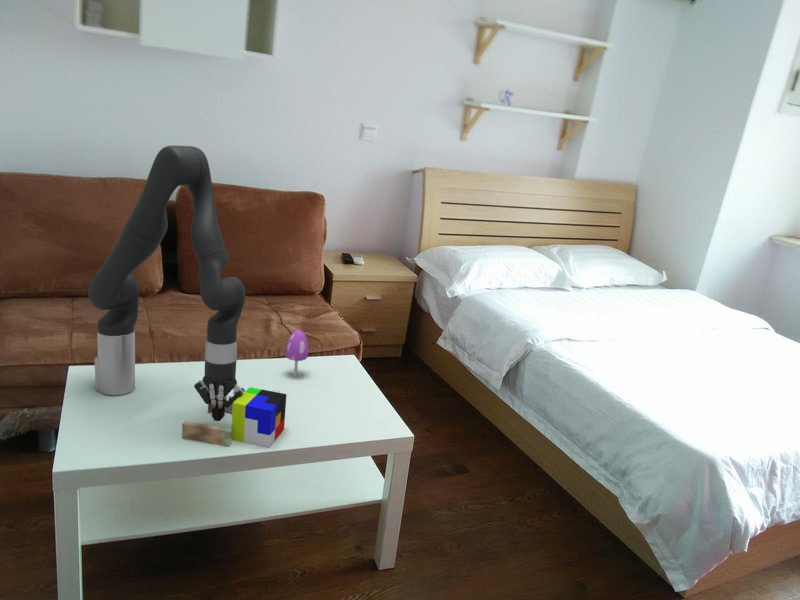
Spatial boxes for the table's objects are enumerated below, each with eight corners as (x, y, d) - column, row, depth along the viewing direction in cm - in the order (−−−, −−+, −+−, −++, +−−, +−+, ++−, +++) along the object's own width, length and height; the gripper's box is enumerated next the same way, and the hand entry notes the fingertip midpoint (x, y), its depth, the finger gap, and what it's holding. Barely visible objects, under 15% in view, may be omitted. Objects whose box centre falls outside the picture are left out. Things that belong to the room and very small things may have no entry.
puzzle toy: (269, 447, 153) (271, 410, 150) (231, 439, 154) (232, 403, 151) (284, 429, 162) (286, 394, 159) (248, 421, 164) (249, 387, 161)
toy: (285, 371, 197) (288, 326, 193) (306, 372, 198) (309, 328, 194) (283, 379, 191) (286, 334, 187) (305, 381, 192) (309, 335, 188)
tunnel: (182, 438, 152) (182, 423, 151) (219, 401, 173) (219, 387, 172) (229, 446, 151) (229, 431, 150) (260, 408, 172) (261, 394, 171)
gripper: (188, 357, 151) (186, 421, 156) (240, 366, 149) (237, 431, 154) (202, 347, 158) (200, 408, 163) (252, 355, 157) (248, 417, 162)
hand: (218, 419), depth 159 cm, fingers closed
